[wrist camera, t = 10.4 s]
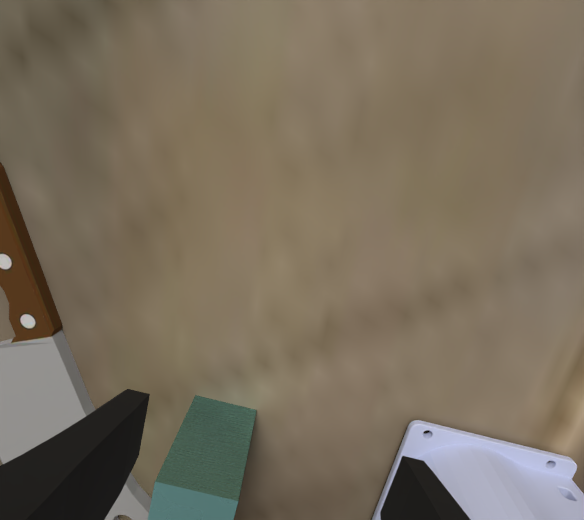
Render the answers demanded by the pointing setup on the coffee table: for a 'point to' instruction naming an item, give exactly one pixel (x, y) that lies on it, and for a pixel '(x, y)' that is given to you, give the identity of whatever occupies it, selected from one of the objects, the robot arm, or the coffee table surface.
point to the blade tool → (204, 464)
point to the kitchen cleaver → (40, 358)
